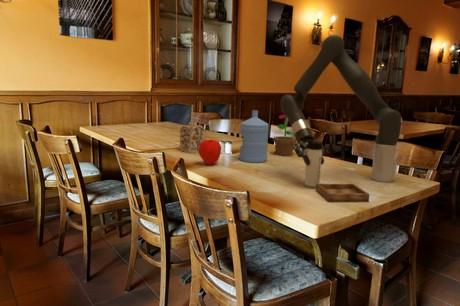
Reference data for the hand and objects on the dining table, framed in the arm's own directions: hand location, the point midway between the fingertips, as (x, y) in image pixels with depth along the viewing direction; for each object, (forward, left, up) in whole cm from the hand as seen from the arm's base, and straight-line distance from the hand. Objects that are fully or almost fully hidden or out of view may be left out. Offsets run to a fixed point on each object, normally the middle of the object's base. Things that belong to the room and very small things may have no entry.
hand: (315, 163), depth 151 cm
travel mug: (+1, -2, -11) cm, 11 cm away
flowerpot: (-4, -69, -11) cm, 70 cm away
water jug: (+18, -53, -11) cm, 56 cm away
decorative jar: (+52, -77, -11) cm, 93 cm away
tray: (-7, +11, -10) cm, 17 cm away
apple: (+43, -42, -11) cm, 60 cm away
